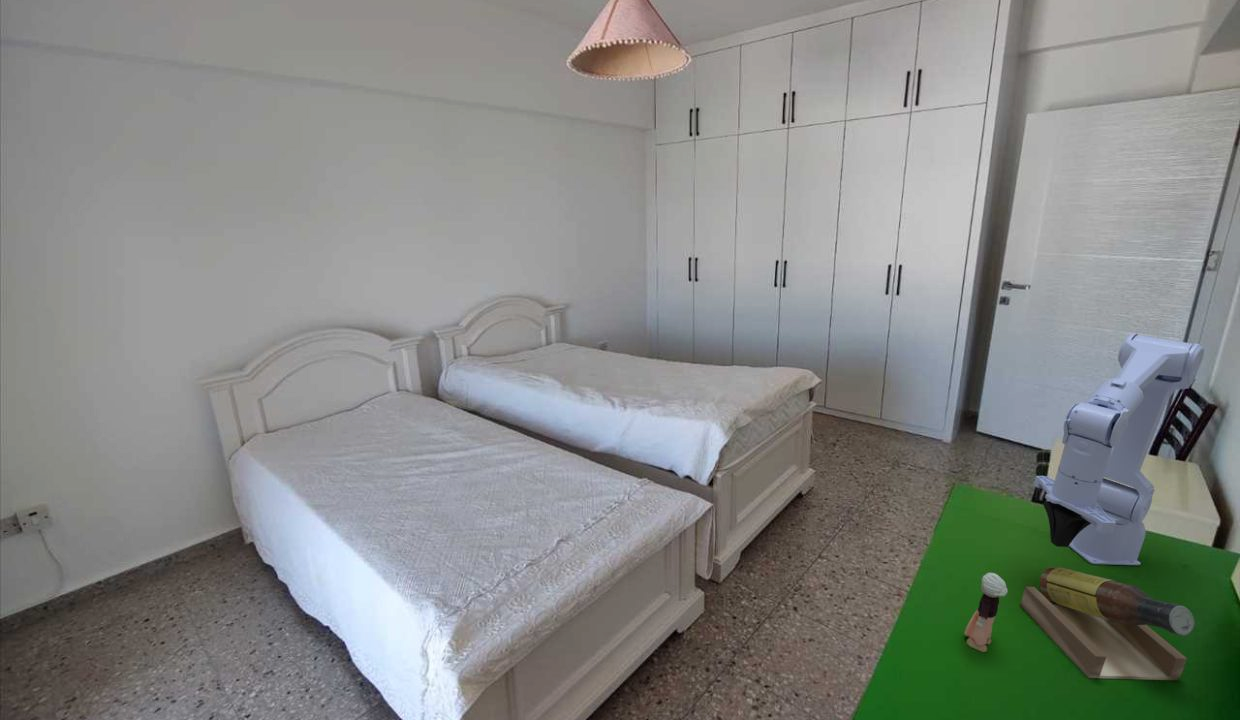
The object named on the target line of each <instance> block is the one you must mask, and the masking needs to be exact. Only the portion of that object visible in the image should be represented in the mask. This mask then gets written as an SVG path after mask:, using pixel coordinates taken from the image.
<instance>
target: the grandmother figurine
mask: <svg viewBox="0 0 1240 720" xmlns="http://www.w3.org/2000/svg"><path fill="white" fill-rule="evenodd" d="M980 588H981V591H982V593H983V594H982V596H981V597H980V599H979V604H978V608H977V610H975V612H974V614H973V615H972V617H971V618H970V620H969V622H968V624H967V626H966V628H965V630H964V635H965V636H967V637H968V638H967V639H966V644H967V645H968V646H969V647H970V648H973V649H974V650H977V651H979V652H981V653H986V652H988V647H987V645H990V644H992V639H991V637H992V633H993V632H992V631H993V630H992V629H993V624H994V621H995V618H996V616H997V614H998V611H999V608H1000V605H999V604H1000V597H1005V596H1006V595H1008V592H1009V591H1008V588H1007V585H1006V582H1005V580H1004V579H1003V578H1001V576H999V575H998V574H997V573H994V572H987V573H986V574H984V575H983V576H982V578H981V585H980Z"/></svg>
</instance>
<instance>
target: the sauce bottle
mask: <svg viewBox="0 0 1240 720" xmlns="http://www.w3.org/2000/svg"><path fill="white" fill-rule="evenodd" d="M1039 578H1040V579H1039V587H1040V592H1041V594H1042V595H1043V596H1044V597H1045V598H1046V599H1047V600H1048V601H1049V602H1050V601H1051V603H1052V602H1053V603H1055V604H1059V605H1062V606H1065V607H1068V608H1071V609H1075V610H1078V611H1081V612H1084V613H1087V614H1090V615H1093V616H1096V617H1099V618H1103V619H1106V620H1109V621H1112V622H1117V623H1121V624H1124V625H1127V626H1135V625H1147V626H1148V625H1149V626H1152V627H1156V628H1160V629H1162V630H1165V631H1167V632H1169V633H1171V634H1175V635H1178V636H1188V634H1191V632H1192V631H1193V629H1194V628H1195V618H1194V616H1193V613H1192V612H1191V611H1190V610H1189V608H1187V607H1186V606H1185V605H1181V604H1177V603H1173V602H1166V601H1161V600H1158V599H1155V598H1153V597H1150V596H1149V595H1148V594H1146V593H1145V592H1144V591H1143V590H1141V589H1140V588H1139V587H1137V586H1135V585H1131V584H1126V583H1124V582H1123V583H1122V582H1119V581H1116V580H1114V579H1109V578H1105V577H1102V576H1096V575H1092V574H1088V573H1085V572H1081V571H1077V570H1073V569H1068V568H1065V567H1055V566H1054V567H1048V568H1045V569H1044V571H1042V573H1041V575H1040V577H1039Z"/></svg>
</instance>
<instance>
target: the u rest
mask: <svg viewBox="0 0 1240 720" xmlns="http://www.w3.org/2000/svg"><path fill="white" fill-rule="evenodd" d="M1019 607H1021V608H1022V610H1023V612H1025V613H1026V614H1027V615H1028V616H1029V617H1030V618H1031V619H1032V620H1033V621H1034V622H1035V623H1036V624H1037V625H1038V626H1039V628H1040V629H1042V630H1043V632H1044V633H1045V634H1046V635H1047V636H1048V638H1050V639H1051V640H1052V641H1053V642H1054V643H1055V644H1056V645H1057V647H1059V649H1061V650H1062V652H1063V653H1064V654H1065V655H1066V656H1067V657H1068V658H1069V659H1070V660H1071V661H1072V662H1073V663H1074V664H1075V665H1076V666H1077V668H1079V669H1080V670H1081V672H1083V674H1084V675H1085V676H1086V677H1087V678H1089V679H1117V680H1118V679H1119V680H1150V681H1153V680H1155V681H1159V680H1160V681H1180V679H1181V675H1182V673H1183V670H1184V668H1185V666H1186V663H1187V660H1188V658H1187V657H1186V656H1185V655H1183V654H1182V653H1181V652H1180V651H1179V650H1177V649H1176V648H1175V647H1173V646H1172V645H1171V644H1170V643H1169V642H1167V640H1165V639H1164V637H1161V636H1160V635H1159V634H1158V632H1155V631H1154V630H1153V629H1152V628H1151V627H1150V626H1148V625H1135V626H1127V625H1124V624H1121V623H1117V622H1112V621H1109V620H1106V619H1103V618H1099V617H1096V616H1093V615H1090V614H1087V613H1084V612H1081V611H1078V610H1075V609H1071V608H1068V607H1065V606H1062V605H1059V604H1057V603H1055V604H1053V603H1052V602H1050V600H1049V599H1047V598H1046V597H1045V596H1044V595H1043V593H1042V592H1041V591H1039V590H1038V589H1037V588H1036V587H1035V586H1025V588H1024V591H1023V594H1022V598H1021V601H1020V605H1019Z"/></svg>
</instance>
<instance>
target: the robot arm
mask: <svg viewBox="0 0 1240 720" xmlns="http://www.w3.org/2000/svg"><path fill="white" fill-rule="evenodd" d="M1204 353H1205V348H1204V347H1203V345H1202V344H1201V343H1191V342H1184V341H1178V340H1171V339H1167V338H1159V337H1153V336H1147V335H1141V334H1138V333H1134V332H1132V333H1131V334H1129V335H1128V336H1126V337H1125V338H1124V339H1123V341H1122V344H1121V346H1120V348H1119V352H1118V356H1117V360H1118V363H1119V365H1120V370H1119V372H1118V374H1117V375H1116V377H1115V378H1113V377H1112V378H1108V379H1105V380H1103V381H1102V382H1101V383H1100V384H1099V385H1098V387H1096V388H1095V390H1094V391H1093V392H1092V393H1091V394H1090V395H1089V397H1088V398H1087V399H1086V400H1085V401H1081V402H1080V403H1079V404H1078V403H1073V404H1072V406H1071V407H1070V408H1069V410H1068V412H1067V413H1066V415H1065V418H1064V423H1063V437H1062V441H1061V442H1062V444H1063V445H1064V446H1063V450H1062V454H1061V458H1060V462H1059V464H1058V467H1057V472H1056V476H1055V478H1054V479H1053V478H1051V477H1049V476H1047V475H1046V476H1045V475H1036V476H1035V480H1034V483H1033V486H1034V487H1036V488H1037V489H1042V490H1044V492H1045V493H1046V494H1045V496H1044V498H1045V499H1046V500H1045V501H1044V502H1043V507H1044V509H1045V512H1046V515H1047V518H1048V523H1049V531H1050V532H1049V533H1050V535H1049V536H1050V542H1051V543H1052V545H1054V546H1056V547H1060V548H1064V547H1065V548H1068V547H1069V548H1071V549H1072V550H1073V551H1074V552H1075V553H1077V554H1078V555H1079V556H1081V557H1082V558H1083V559H1084V560H1085V561H1087V562H1089V563H1090V564H1091V565H1112V566H1113V565H1116V566H1118V565H1119V566H1140V565H1141V562H1140V561H1139V560H1138V558H1139V556H1140V552H1141V549H1142V547H1143V544H1144V540H1145V538H1146V534H1147V533H1146V526H1145V525H1144V523H1143V521H1144V520H1145V518H1146V516H1147V514H1148V512H1149V510H1150V508H1151V505H1152V500H1153V495H1154V493H1155V489H1154V488H1155V487H1154V484H1153V483H1152V482H1151V481H1150V480H1149V479H1148V478H1147V477H1146V476H1145V475H1144V473H1142V471H1141V469H1142V466H1143V464H1144V462H1145V458H1146V457H1147V454H1148V451H1149V449H1150V446H1151V444H1152V441H1153V439H1154V436H1155V434H1156V431H1157V428H1158V426H1159V423H1160V421H1161V419H1162V416H1163V413H1164V411H1165V408H1166V406H1167V404H1168V401H1169V399H1170V398H1171V396H1172V395H1173V393H1174V392H1175V391H1176V390H1185V389H1187V390H1188V389H1190V387H1191V385H1192V384H1193V383H1194V382H1195V379H1196V376H1197V374H1198V372H1199V369H1200V366H1201V364H1202V362H1203V359H1204V355H1205V354H1204Z"/></svg>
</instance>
